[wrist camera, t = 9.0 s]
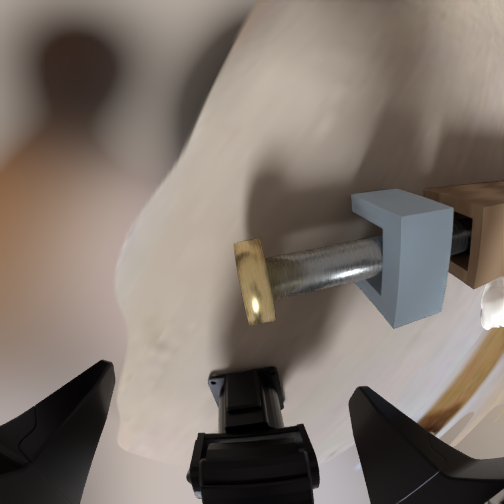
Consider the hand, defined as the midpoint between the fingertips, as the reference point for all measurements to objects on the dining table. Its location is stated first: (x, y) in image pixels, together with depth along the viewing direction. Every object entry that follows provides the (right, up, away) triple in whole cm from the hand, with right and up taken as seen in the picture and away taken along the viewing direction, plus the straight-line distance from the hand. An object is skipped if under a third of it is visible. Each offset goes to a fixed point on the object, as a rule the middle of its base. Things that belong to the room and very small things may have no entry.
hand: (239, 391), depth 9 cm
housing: (+23, +9, +12) cm, 27 cm away
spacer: (+10, +6, +11) cm, 16 cm away
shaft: (+10, +6, +10) cm, 15 cm away
